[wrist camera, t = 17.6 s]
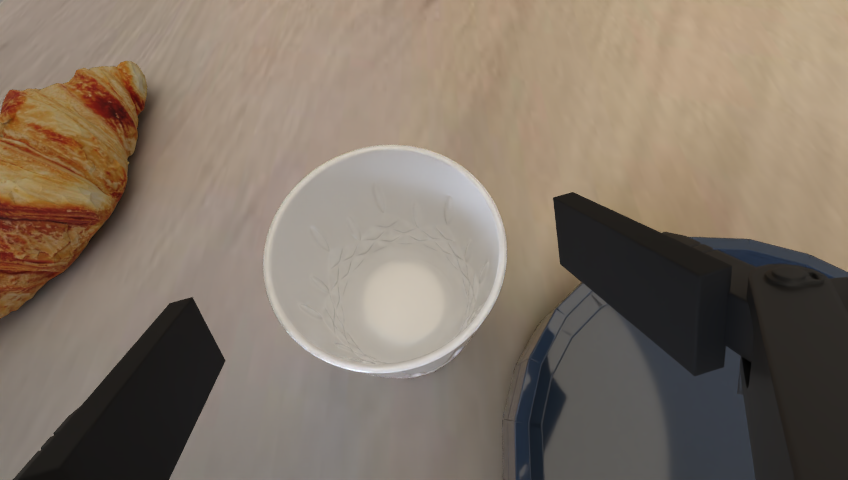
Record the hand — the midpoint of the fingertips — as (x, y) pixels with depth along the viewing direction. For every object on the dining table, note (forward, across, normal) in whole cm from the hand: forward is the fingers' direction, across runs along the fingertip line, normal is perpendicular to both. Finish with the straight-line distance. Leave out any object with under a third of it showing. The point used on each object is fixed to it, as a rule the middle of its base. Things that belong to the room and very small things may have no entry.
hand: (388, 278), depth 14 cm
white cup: (+6, 0, -6) cm, 8 cm away
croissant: (+16, -19, +4) cm, 25 cm away
